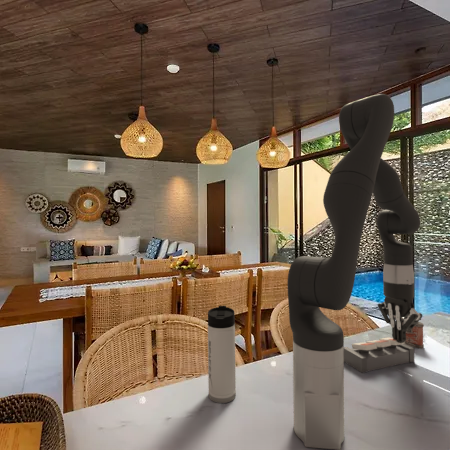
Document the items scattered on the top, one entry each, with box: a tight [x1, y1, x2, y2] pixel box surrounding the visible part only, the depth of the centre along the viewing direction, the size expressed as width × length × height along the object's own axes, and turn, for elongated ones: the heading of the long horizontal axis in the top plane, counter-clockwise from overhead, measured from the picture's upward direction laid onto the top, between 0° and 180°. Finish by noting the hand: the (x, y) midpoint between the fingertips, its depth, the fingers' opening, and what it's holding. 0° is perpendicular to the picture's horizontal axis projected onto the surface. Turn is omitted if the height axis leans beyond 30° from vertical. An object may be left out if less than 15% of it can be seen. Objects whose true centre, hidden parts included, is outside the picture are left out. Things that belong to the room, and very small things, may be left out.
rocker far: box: [378, 337, 406, 345], centre depth 89 cm, size 3×6×1 cm, turn 19°
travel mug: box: [207, 305, 237, 404], centre depth 71 cm, size 6×7×20 cm
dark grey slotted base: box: [344, 344, 415, 373], centre depth 87 cm, size 18×7×4 cm, turn 109°
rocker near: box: [351, 342, 377, 350], centre depth 86 cm, size 3×6×1 cm, turn 19°
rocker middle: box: [365, 339, 391, 347], centre depth 87 cm, size 3×6×1 cm, turn 19°
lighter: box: [404, 314, 425, 350], centre depth 99 cm, size 8×3×10 cm, turn 25°
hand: (399, 341), depth 87 cm, fingers closed
